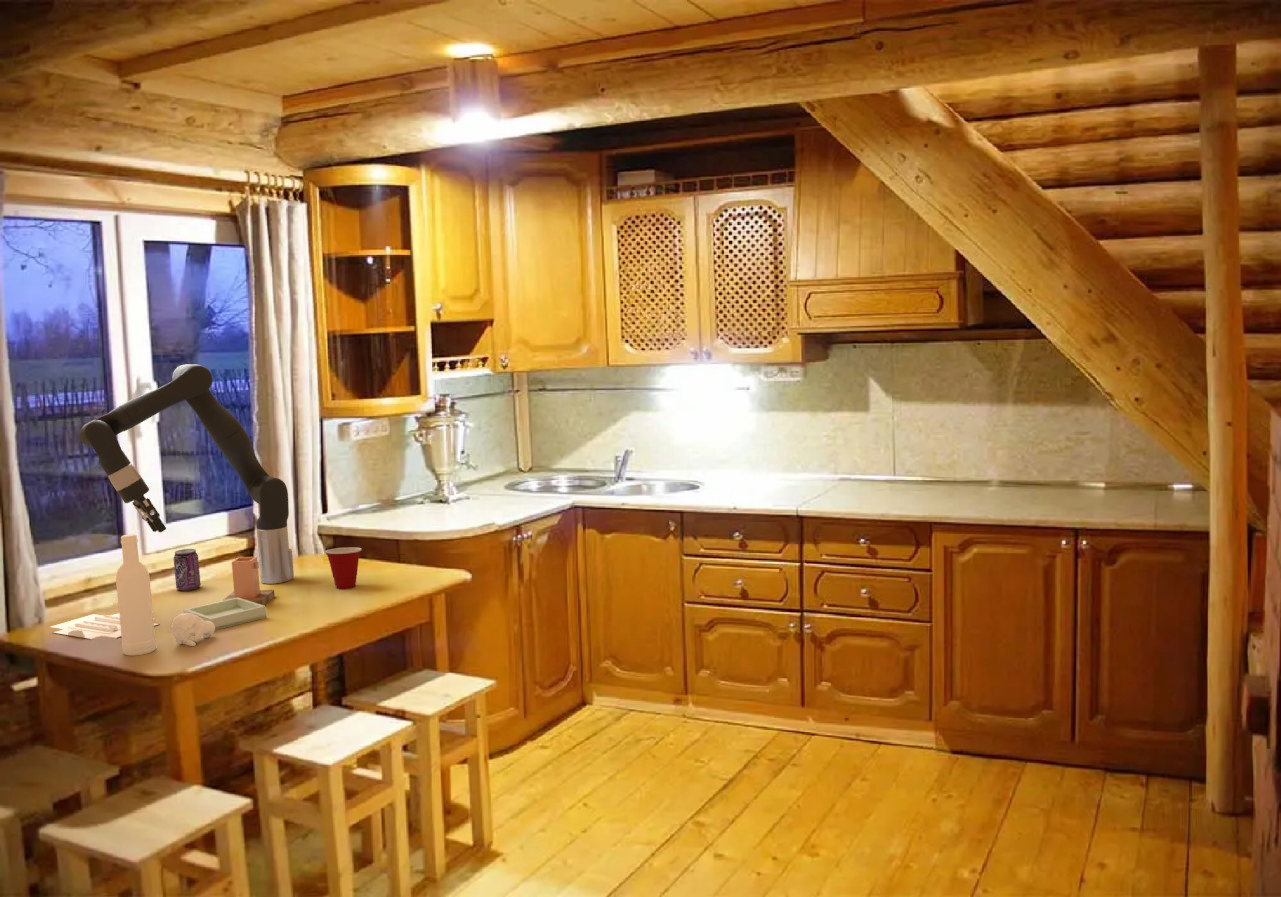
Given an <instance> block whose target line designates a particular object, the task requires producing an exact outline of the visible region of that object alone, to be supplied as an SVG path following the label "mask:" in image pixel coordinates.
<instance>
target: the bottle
mask: <svg viewBox="0 0 1281 897" xmlns="http://www.w3.org/2000/svg"><path fill="white" fill-rule="evenodd" d="M138 541H139V540H138V537H137V534H135V533H130V534H123V535H121V537H120V544H121V551H122V552H121V553H122V562H123V563H122V565H121V566H120V567H118V568H117V572H116V575H115V586H116V593H117V594H116V596H117V604H118V613H119V616H120V626H121V636H120V637H121V648H122V654H123V655H125V656H129V657H130V656H133V657H135V656H143V655H147V654H149V653H152V652H154V651H156V650H157V637H156V633H155V632H156V631H155V626H154V623H155V621H154V619H153V618H154V612H153V600H152V589H151V579H150V578H151V577H150V573H149V570H148V568H147V567H146V565H145V564H143V563H142V562H140V560H139V558H140V556H139V548H138V547H139V546H138Z"/></svg>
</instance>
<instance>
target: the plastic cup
mask: <svg viewBox="0 0 1281 897" xmlns="http://www.w3.org/2000/svg"><path fill="white" fill-rule="evenodd" d="M361 551H362V548H361V547H353V546H352V547H336V548H330V549H326V550H325V551H324V552H325V553H326V555H327V558H328V561H329V562H328V563H329V565H330V569H331V570H330V571H331V574H332V578H333V581H334V585H335V587H336V589H338V590H348V589H352V588H355V587H356V584H357V576H358V570H359V569H358V568H359V559H360V555H361Z"/></svg>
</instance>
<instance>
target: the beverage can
mask: <svg viewBox="0 0 1281 897" xmlns="http://www.w3.org/2000/svg"><path fill="white" fill-rule="evenodd" d="M173 566H174V568H173V569H174V578H175V588H176V589H177V590H180V591H185V592H187V591H194V590H196V589H198V588H199V587H200V586H201V585H202V584H201V575H200V572H201V571H200V563H199V554H198V553H197V550H196V548H184V549H183V548H182V549H179V550H175V551H174V556H173Z"/></svg>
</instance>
